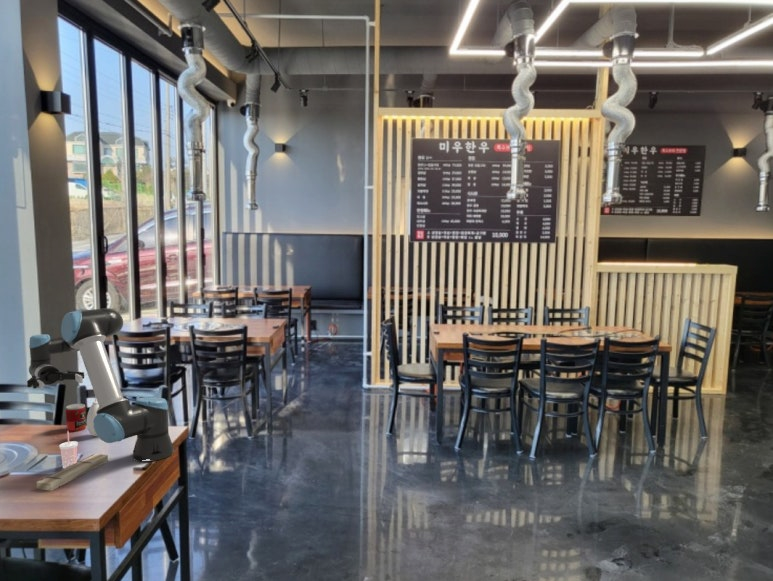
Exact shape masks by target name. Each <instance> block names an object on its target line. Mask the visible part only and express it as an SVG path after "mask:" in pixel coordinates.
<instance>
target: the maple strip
mask: <svg viewBox="0 0 773 581" xmlns="http://www.w3.org/2000/svg"><path fill="white" fill-rule="evenodd" d="M107 461H108V462H109V457H108V454H102V453H101V454H100V453H93V454H91V455H89V456H87V457H85V458H82V459H81V460H79V461H78V460H77V463H75V464H73V465H71V466H69V467H66V468H64V469H63V468H62V469H61V470H60V469H59V471H56V472H54V473H52V474H50V475H48V476H45V477H44V478H42V479H39V480H38V481H36V489H37V490H42V491H50V492H51V491H53V490H56V489H57V488H60V487H62V486H63V485H65V484H66V483H69V482H71V481H73V480H75V479H77V478H78V477H81V476H83V475H84V474H86V473H89V472H90V471H92V470H94V469H96V468H98V467H100V466H102V465H104V464H106V463H108V462H107ZM105 462H106V463H105ZM103 463H104V464H103ZM59 486H60V487H59Z"/></svg>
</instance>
